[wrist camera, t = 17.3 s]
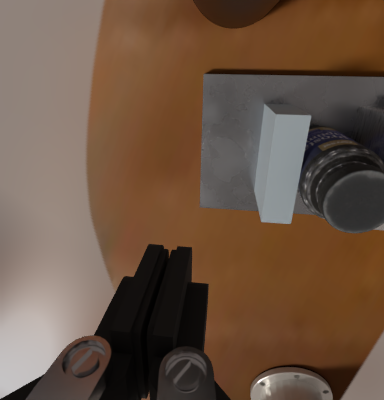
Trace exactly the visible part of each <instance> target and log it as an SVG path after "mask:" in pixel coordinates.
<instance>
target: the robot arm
mask: <svg viewBox="0 0 384 400" xmlns="http://www.w3.org/2000/svg"><path fill="white" fill-rule="evenodd" d="M191 280H192V247H180V246H178V247H177V250H172V251H171V254H170V257H169V251H168V249H164V246H163V245H155V244H149V245H148V247H147V249H146V251H145V253H144V256H143V258H142V260H141V262H140V264H139V267H138V269H137V271H136V273H135V275H134V277H128V276H125V277H124V278H123V279H122V281H121V283H120V285H119V287H118V289H117V291H116V293H115V295H114V297H113V299H112V301H111V303H110V304H109V306H108V309H107V311H106V312H105V314H104V316H103V318H102V321H101V323H100V324H99V326H98V329H97V330H96V332H95V334H94V336H93V335H92V336H84V337H82V338H79V339H76V340H75V341H73V342H72V343H70V344H69V345H68V346H67V347H66V348H65V349H64V350H63V351H62V352H61V353H60V355H59V356H58V357H57V358H56V360H55V361H54V362H53V364H52V365H51V366H50V368H49V369H48V370H47V372H46V373H45V374H44V375H42V376H41V377H39V378H37V379H35V380H33V381H32V382H30V383H28V384H26V385H25V386H23V387H21V388H19V389H17V390H16V391H14V392H12V393H10V394H9V395H7V396H5V397H3V398H1V399H0V400H141V398H147V396H148V393H150V400H231V399H230V398H229V397H228V396H227V395H226V394H225V392H224V391H223V390H222V389H221V388H220V386H219V385H218V384H217V383H216V382H215V381H214V373H213V367H212V364H211V361H210V360H209V358H208V356H207V355H206V354H205V353H204V343H205V331H206V319H207V304H208V284H204V283H193V282H191ZM250 392H251V400H333V396H332V392H331V389H330V386H329V384H328V383H327V381H326V380H325V379H324V378H323V377H321V376H320V375H318V374H316V373H314V372H312V371H310V370H306V369H303V368H296V367H281V368H275V369H271V370H268V371H266V372H264V373H262V374H260V375H259V376H258V377H257V378H256V379H255V380H254V381H253V383H252V385H251V391H250Z"/></svg>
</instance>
